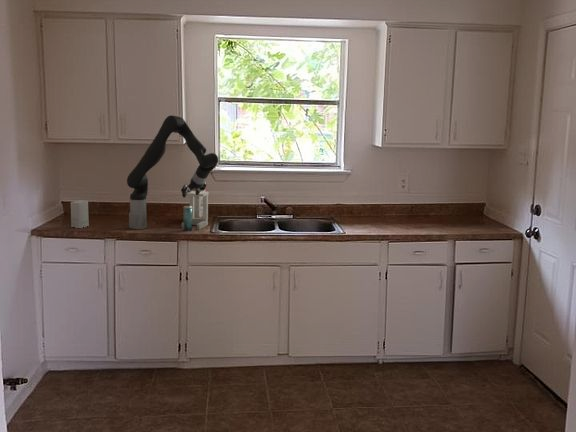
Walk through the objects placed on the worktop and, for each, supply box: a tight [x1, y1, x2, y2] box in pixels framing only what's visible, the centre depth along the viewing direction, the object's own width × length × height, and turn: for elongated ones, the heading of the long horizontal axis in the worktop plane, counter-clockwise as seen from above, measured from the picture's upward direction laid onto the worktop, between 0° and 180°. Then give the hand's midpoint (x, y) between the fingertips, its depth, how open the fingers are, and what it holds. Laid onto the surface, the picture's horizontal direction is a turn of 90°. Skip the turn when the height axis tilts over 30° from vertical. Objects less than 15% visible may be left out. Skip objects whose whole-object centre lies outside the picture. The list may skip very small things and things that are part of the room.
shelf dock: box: [181, 191, 210, 230], centre depth 355 cm, size 16×12×21 cm
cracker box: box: [194, 187, 208, 219], centre depth 376 cm, size 14×6×21 cm, turn 168°
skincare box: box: [70, 199, 90, 229], centre depth 342 cm, size 8×7×16 cm
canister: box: [183, 205, 193, 232], centre depth 344 cm, size 5×5×14 cm
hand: (190, 195), depth 340 cm, fingers open, 8 cm apart
